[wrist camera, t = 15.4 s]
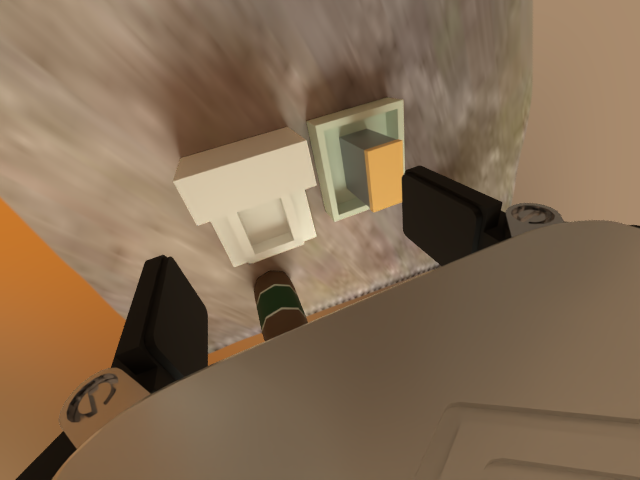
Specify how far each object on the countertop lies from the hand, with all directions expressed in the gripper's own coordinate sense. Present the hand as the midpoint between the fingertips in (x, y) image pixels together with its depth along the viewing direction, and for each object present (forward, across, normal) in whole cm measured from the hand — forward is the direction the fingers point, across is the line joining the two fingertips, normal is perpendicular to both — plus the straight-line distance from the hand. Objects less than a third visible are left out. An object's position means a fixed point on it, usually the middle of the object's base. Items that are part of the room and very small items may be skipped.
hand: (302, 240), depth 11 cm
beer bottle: (+34, +4, +31) cm, 47 cm away
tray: (+34, -17, +11) cm, 40 cm away
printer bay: (+34, +1, +13) cm, 37 cm away
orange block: (+33, -17, +11) cm, 39 cm away
